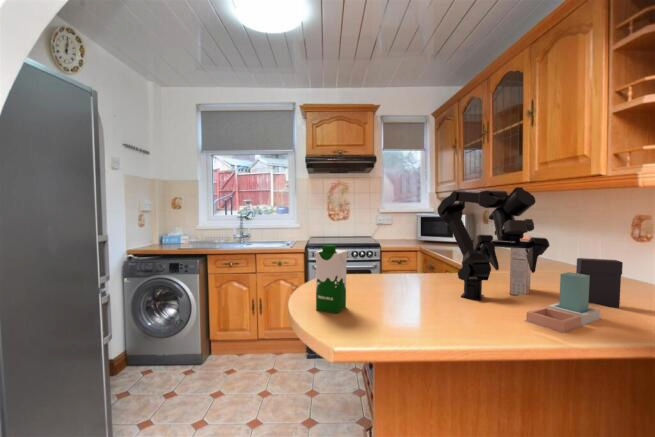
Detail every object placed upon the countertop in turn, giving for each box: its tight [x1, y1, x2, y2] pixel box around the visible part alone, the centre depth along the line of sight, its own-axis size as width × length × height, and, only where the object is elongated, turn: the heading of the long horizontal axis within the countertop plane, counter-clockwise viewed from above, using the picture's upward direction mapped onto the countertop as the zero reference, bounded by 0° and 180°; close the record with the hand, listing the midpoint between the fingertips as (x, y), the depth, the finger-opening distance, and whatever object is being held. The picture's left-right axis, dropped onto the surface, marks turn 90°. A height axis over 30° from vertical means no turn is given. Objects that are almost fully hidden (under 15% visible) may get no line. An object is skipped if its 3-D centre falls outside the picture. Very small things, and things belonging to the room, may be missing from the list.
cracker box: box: [509, 234, 532, 297], centre depth 121 cm, size 14×6×21 cm, turn 144°
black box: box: [575, 257, 624, 309], centre depth 106 cm, size 11×4×15 cm, turn 71°
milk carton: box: [314, 244, 348, 314], centre depth 100 cm, size 9×9×20 cm
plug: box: [558, 271, 590, 313], centre depth 92 cm, size 5×5×12 cm
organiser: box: [524, 302, 602, 334], centre depth 89 cm, size 10×21×4 cm, turn 120°
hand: (515, 271), depth 89 cm, fingers open, 9 cm apart
